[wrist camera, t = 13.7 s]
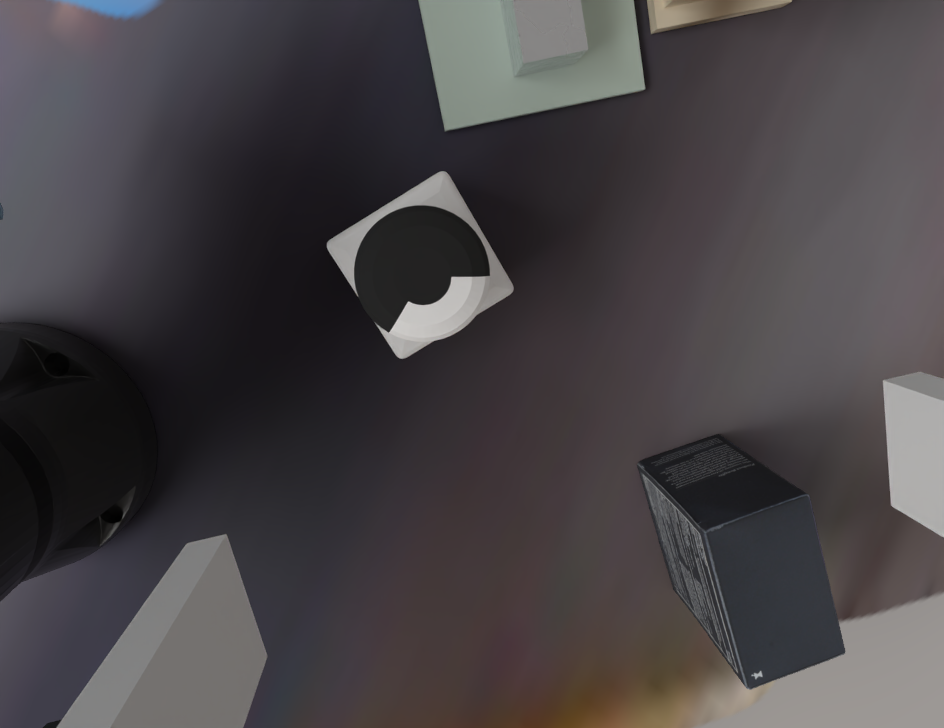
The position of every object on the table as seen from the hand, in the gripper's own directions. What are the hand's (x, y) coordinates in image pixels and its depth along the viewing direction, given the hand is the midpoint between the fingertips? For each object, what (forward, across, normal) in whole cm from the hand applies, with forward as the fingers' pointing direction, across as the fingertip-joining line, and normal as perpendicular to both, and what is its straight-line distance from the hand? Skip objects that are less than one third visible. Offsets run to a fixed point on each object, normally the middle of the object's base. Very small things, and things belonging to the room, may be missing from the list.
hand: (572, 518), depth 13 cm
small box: (+29, -13, +17) cm, 36 cm away
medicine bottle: (+29, +2, -4) cm, 29 cm away
